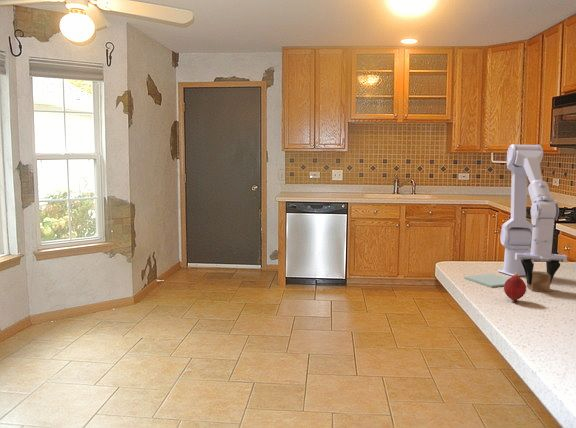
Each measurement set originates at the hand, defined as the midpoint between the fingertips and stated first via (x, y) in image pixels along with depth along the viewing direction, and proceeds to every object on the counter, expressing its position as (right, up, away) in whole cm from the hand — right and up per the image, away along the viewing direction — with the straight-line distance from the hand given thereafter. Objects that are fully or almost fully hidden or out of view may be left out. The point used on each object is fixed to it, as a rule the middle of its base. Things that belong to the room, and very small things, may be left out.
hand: (538, 283), depth 165 cm
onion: (-13, -3, -13) cm, 18 cm away
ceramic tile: (-11, 0, +9) cm, 14 cm away
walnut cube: (0, -2, 0) cm, 2 cm away
